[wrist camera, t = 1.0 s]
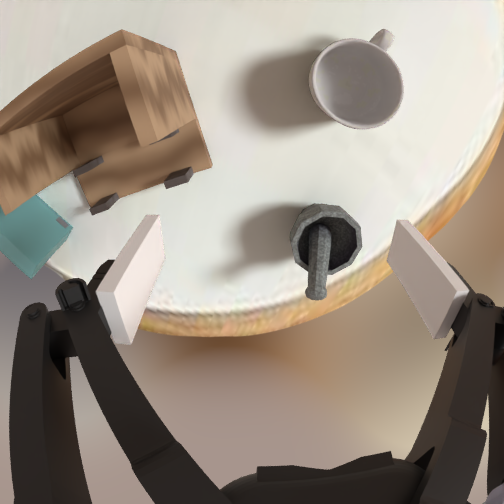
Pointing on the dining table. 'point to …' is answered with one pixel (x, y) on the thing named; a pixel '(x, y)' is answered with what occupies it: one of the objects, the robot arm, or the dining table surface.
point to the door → (32, 234)
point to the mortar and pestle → (324, 244)
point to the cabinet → (103, 125)
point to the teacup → (357, 81)
